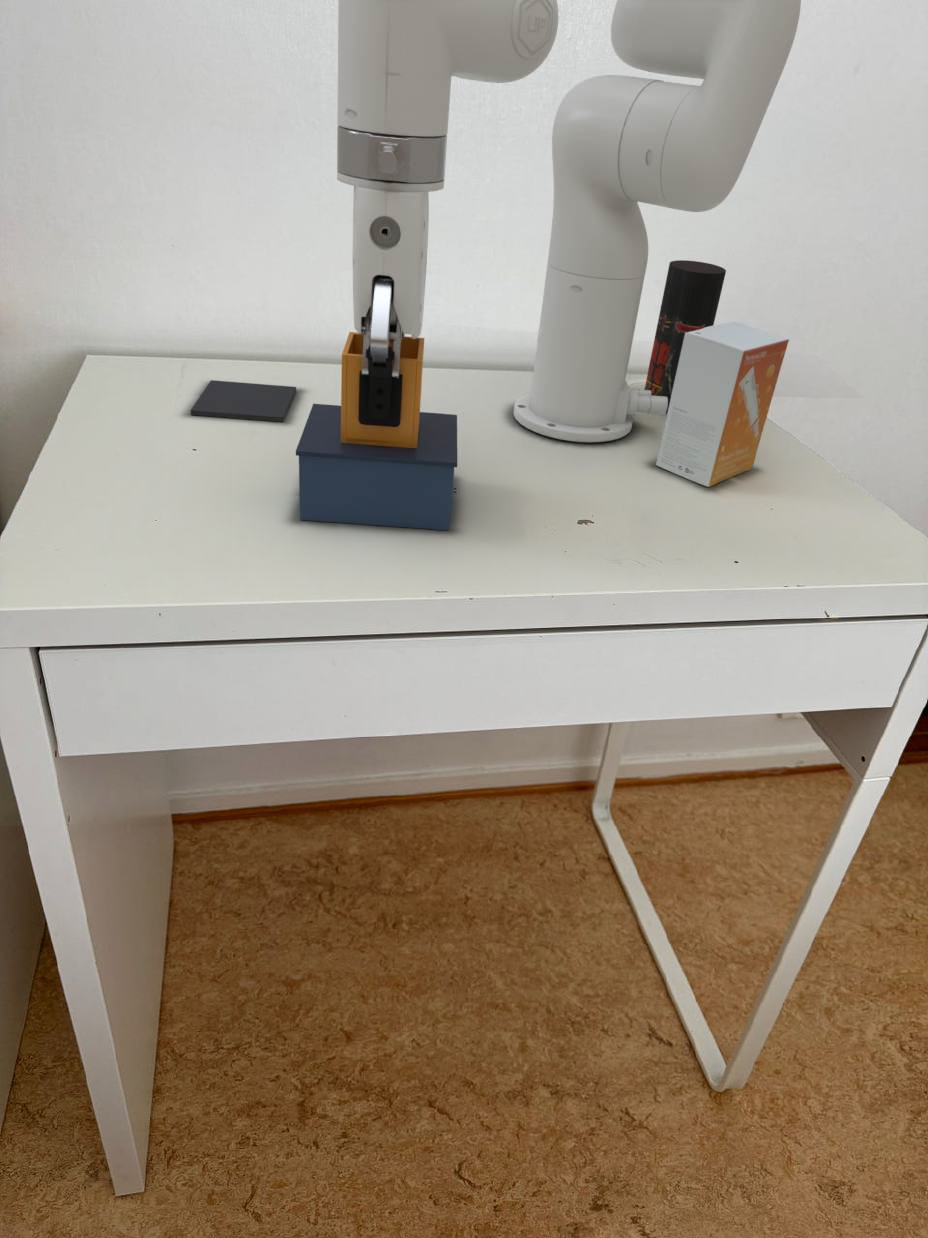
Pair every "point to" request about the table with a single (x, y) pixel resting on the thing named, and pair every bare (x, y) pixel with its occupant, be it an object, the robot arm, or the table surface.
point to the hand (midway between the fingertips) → (382, 406)
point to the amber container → (410, 400)
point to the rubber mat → (244, 401)
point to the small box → (720, 401)
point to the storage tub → (377, 474)
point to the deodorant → (682, 318)
